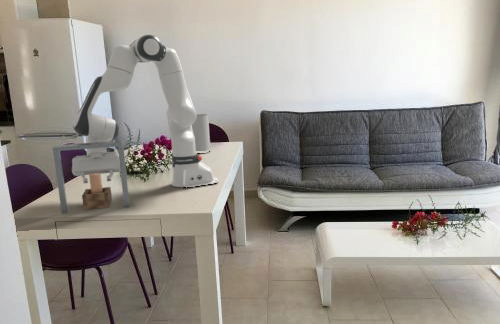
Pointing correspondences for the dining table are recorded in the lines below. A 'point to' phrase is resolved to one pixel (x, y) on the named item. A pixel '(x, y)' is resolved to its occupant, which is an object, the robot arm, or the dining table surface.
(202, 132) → the cylinder vase
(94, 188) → the terracotta peg
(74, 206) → the dining table surface
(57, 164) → the grey arch frame
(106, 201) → the walnut socket
